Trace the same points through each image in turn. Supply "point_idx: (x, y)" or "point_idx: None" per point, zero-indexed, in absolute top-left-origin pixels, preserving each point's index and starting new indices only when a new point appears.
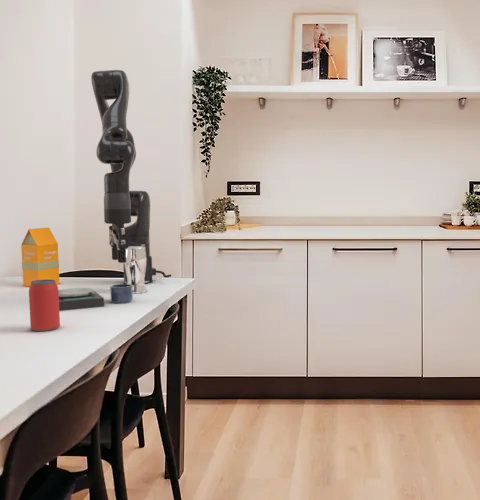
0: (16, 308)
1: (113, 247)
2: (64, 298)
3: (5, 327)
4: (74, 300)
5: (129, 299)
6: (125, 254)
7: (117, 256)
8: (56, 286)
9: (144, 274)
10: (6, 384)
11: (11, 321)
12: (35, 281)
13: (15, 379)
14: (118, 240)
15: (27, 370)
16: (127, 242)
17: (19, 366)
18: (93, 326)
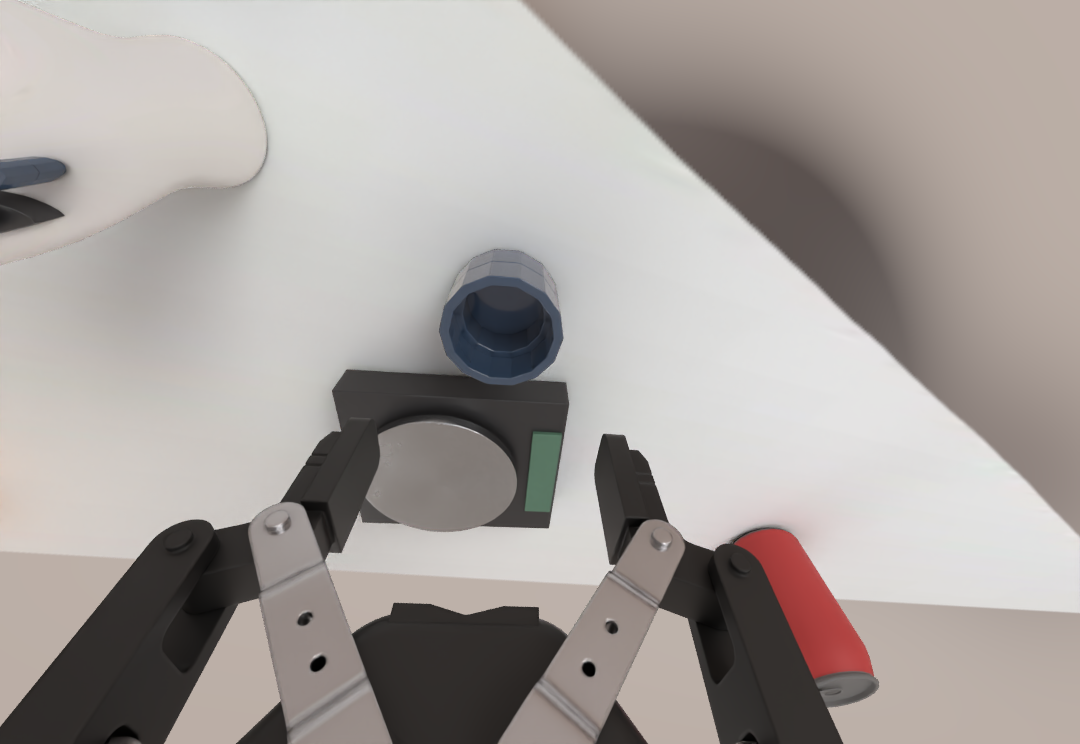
0: (439, 560)
1: (329, 547)
2: None
3: None
4: (553, 486)
5: (551, 279)
6: (636, 484)
7: (365, 449)
8: (861, 655)
9: (102, 39)
10: (1058, 611)
11: None
12: None
13: (1051, 603)
14: (714, 689)
15: (1029, 591)
16: (782, 615)
17: (993, 596)
18: (844, 470)
